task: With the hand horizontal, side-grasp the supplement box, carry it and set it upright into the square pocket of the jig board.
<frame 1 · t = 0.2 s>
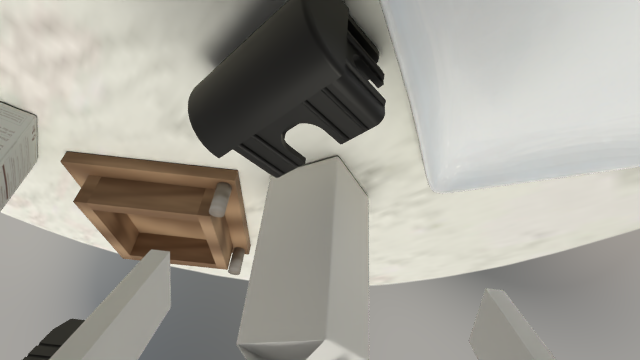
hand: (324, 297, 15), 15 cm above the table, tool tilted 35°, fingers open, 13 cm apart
milk carton: (321, 184, 35), on the table
end cap: (293, 53, 23), on the table
jig: (173, 206, 40), on the table
salad plate: (587, 24, 21), on the table
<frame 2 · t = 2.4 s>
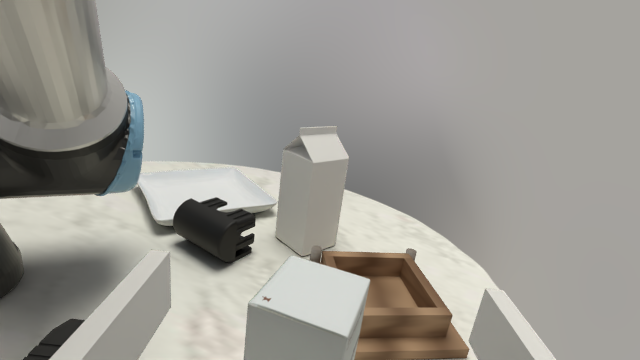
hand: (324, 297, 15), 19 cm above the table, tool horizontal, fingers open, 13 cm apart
milk carton: (304, 242, 58), on the table
end cap: (214, 250, 53), on the table
jig: (374, 307, 44), on the table
salad plate: (203, 204, 68), on the table
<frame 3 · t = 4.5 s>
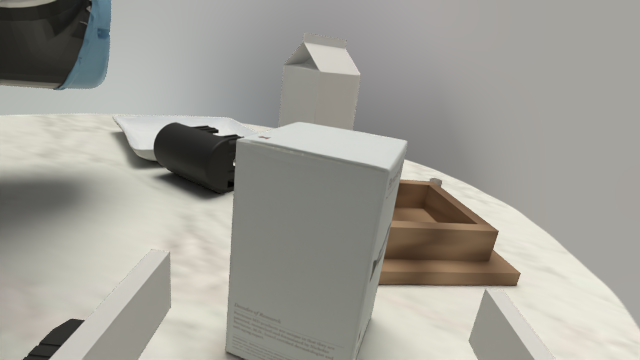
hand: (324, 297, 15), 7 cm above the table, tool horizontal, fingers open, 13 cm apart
milk carton: (309, 181, 50), on the table
end cap: (202, 183, 45), on the table
jig: (396, 237, 37), on the table
supplement box: (305, 335, 22), on the table
salad plate: (193, 148, 60), on the table
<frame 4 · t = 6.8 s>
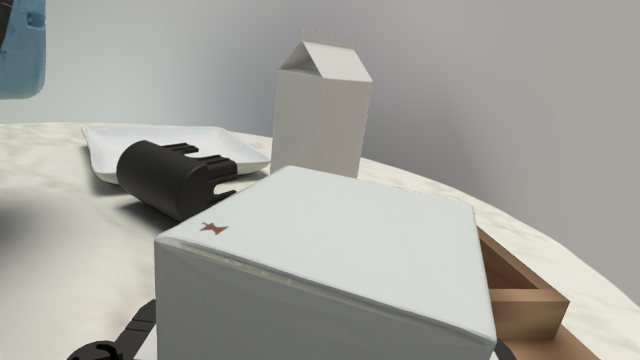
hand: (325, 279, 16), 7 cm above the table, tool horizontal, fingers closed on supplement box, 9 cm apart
milk carton: (309, 208, 42), on the table
end cap: (178, 215, 36), on the table
jig: (421, 294, 28), on the table
salad plate: (174, 165, 52), on the table
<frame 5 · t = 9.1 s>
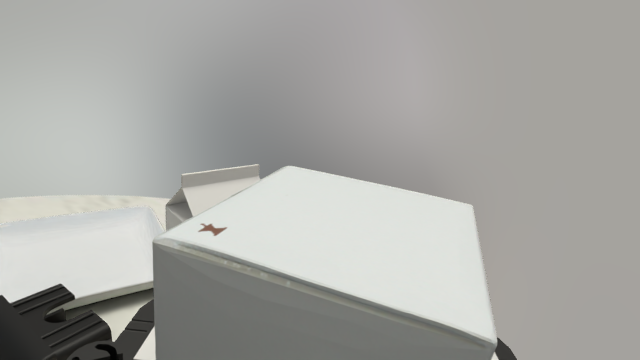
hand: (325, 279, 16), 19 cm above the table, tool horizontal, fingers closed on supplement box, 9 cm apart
milk carton: (217, 348, 36), on the table
salad plate: (81, 271, 45), on the table
when the fingers open (10 cm above the table, at t = 11.8 s): supplement box drops 1 cm, resting on jig.
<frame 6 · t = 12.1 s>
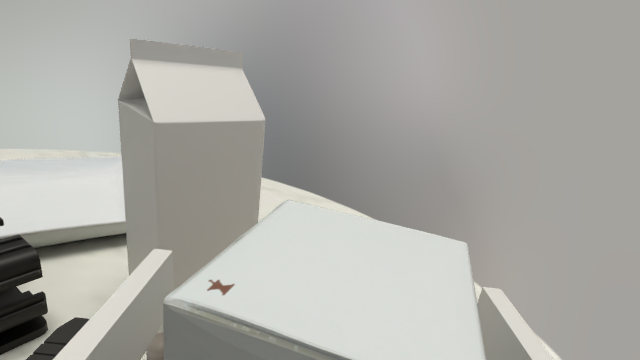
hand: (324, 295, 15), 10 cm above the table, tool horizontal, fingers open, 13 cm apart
milk carton: (190, 299, 29), on the table
salad plate: (40, 217, 38), on the table
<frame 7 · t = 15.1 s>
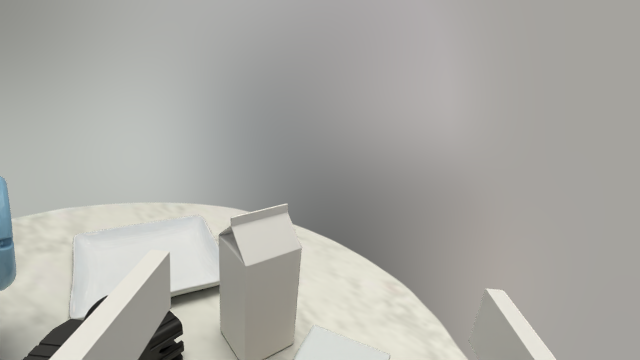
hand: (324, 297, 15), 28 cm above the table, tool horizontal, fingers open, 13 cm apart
milk carton: (256, 338, 47), on the table
end cap: (137, 358, 43), on the table
salad plate: (152, 271, 58), on the table
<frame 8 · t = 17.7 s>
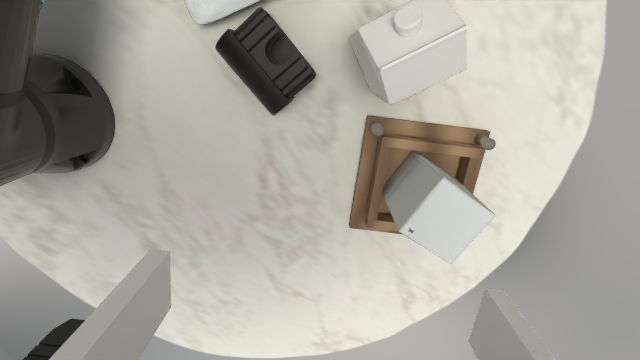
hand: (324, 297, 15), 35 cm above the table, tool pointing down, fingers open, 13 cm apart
milk carton: (385, 52, 44), on the table
end cap: (272, 63, 45), on the table
jig: (414, 179, 50), on the table
supplement box: (417, 182, 49), point 1 cm above the table, touching jig
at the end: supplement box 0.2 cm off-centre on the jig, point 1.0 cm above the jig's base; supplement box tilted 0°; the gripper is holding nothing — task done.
